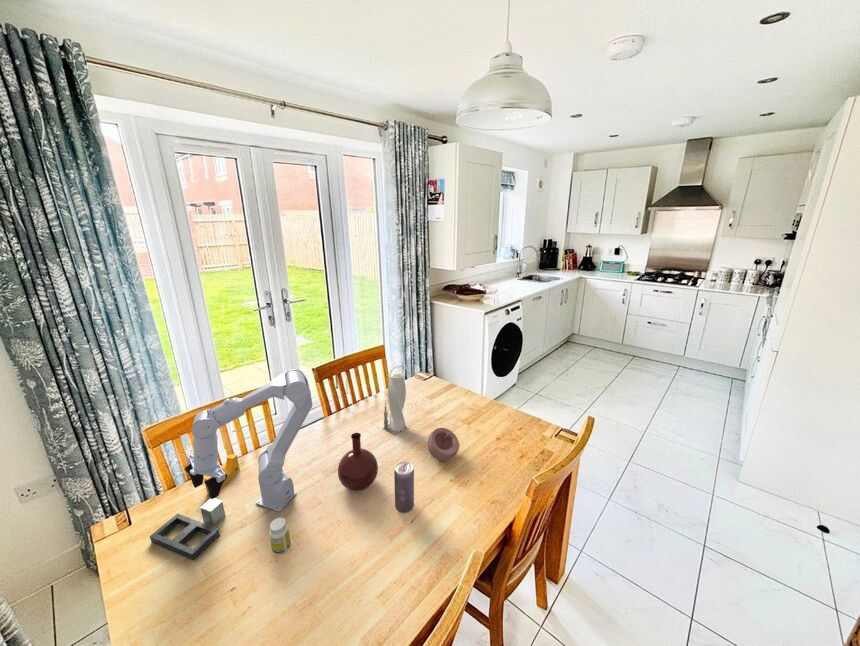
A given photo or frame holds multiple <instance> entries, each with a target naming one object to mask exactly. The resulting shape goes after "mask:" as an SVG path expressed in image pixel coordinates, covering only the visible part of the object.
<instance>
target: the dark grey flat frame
mask: <svg viewBox="0 0 860 646" xmlns="http://www.w3.org/2000/svg"><path fill="white" fill-rule="evenodd" d="M177 526H182V527H184V528H183V529H182V530H181V531H180V532H179V533H177V534H176V535H175V536H174V537H173V538H172V539H171V538H169V537H166V535H168V533H170V532H171V531H172V530H173V529H175V527H177ZM198 533H200V534H203V535H205V537H204V538H203V539H202V540H200V541H199V542H198V543H197V544H196V545H195V547H193V548H192V547H190V546H187V545H186V544H187V543H188V542H190V541H191V540H192V539H193V538H194V537H196V536H197V534H198ZM220 536H221V534H220V530H219V528H216V527H212V526H210V525H207V524H204V522H201V521H198V520H196V519H192V518H191V517H188V516H185V515H183V514H180V513H177V514H175V515H174V516H172V518H170V519H169V520H168V521H166V522H165V523H164V524H163V525H162V526H160V527H159V528H158V529H156V531H154V532H152V534H150V535H149V539H150V543H151V544H154V545H156V546H158V547H160V548H162V549H165V550H167V551H170V552H171V553H175V554H176V555H179V556H181V557H184V558H186V559H188V560H191V561H193V562H194V561H196V560H197V559H198V558H199V556H201V555H202V554H203V553H204V552H205V551H206V550H207V549H208V548H209V547H210V546H211V545H212V544H213V543H214V542H215V541H216V540H217V539H218V538H219V537H220Z"/></svg>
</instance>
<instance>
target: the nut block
mask: <svg viewBox="0 0 860 646" xmlns="http://www.w3.org/2000/svg"><path fill="white" fill-rule="evenodd" d="M199 510H200V513H201V517H202V520H203V521H202V522H203V523H204V524H206V525H209V526H212V527H214V528H216V526H217V525H218V524H220V522H222V521H223V520H224V518H226V517H227V515H226V512H225V511H226V510H225V507H224V503H223V500H220V499H218V498H214V499H210V498H209V499H208V500H207V501H206V502H205V503H204V504H203V505H200V507H199Z"/></svg>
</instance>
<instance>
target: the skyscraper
mask: <svg viewBox="0 0 860 646" xmlns="http://www.w3.org/2000/svg"><path fill="white" fill-rule="evenodd" d="M397 368H402V369H401V371H399V370H398V371H397V370H395V369H397ZM404 369H405V366H401V365H399V366H395V367H393V368H392V369H391V370H390V371H389V375H388V382H387V383H388V385H387V399H388V406H389V410H390V411H389V412H390V418H389V419H388V413H389V412H388V411H387V406H386V405H387V403H386V402H384V405H385V406H384V411H383V416H384V417H383V425H384V426H383V428H382V430H384V429H385V431H386V430H387V431H386V432H388V431H389V432H388V433H390V432H391V433H390V434H392V433H393V435H394V434H395V435H394V436H396V435H398V434H399V433H400V432H402V431H403V430H404V429H405V427H406V428H407V424H406V421H405V418H404V413H403V411H404V410H403V409H404V406H405V404H406V403H405V402H406V399H407V397H406V396H407V388H406V381H405V377H404V373H403V371H404ZM394 370H395V371H394ZM403 428H404V429H403ZM402 429H403V430H402ZM401 430H402V431H401ZM399 431H400V432H399ZM398 432H399V433H398ZM397 433H398V434H397Z"/></svg>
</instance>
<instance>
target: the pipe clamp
mask: <svg viewBox="0 0 860 646" xmlns="http://www.w3.org/2000/svg"><path fill="white" fill-rule="evenodd" d="M221 468H222V470H223V472H225V473H226V474H227V475H228V477H227V478H226V480H225V481H224V483H223V485H222V487H221V489H222V488H224V486H225V485H227V483H228V482H229V481H230V480H231V479H232V478H233V477H234V476H235V475H236V474H237V473H238V472H239V471H240V469H241V468H240V463H239V457H238V455H237V454H235V453H230V454H229V455H228V456H227V457H226V462H225V463H223V465H222V466H221ZM210 478H212V477H210V476H206V475H205V476H204V479H203V483H204V482H205V481H206V480H208V479H210ZM204 485H205V489H206V493H207V495H209V491H208V488H207V486H206V484H205V483H204Z"/></svg>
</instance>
